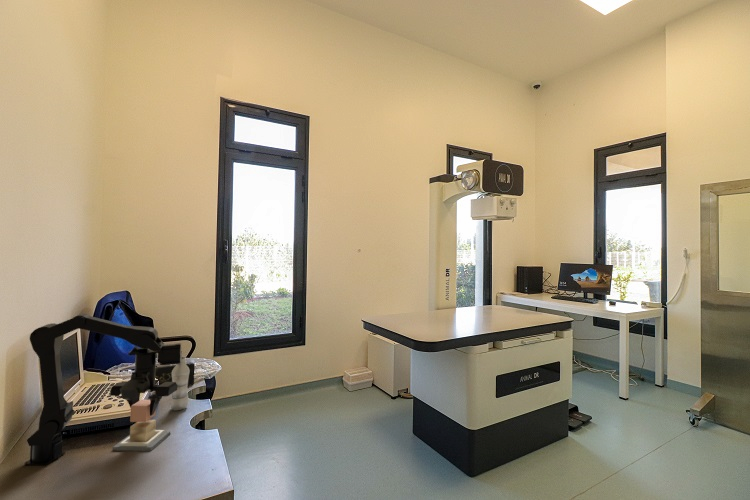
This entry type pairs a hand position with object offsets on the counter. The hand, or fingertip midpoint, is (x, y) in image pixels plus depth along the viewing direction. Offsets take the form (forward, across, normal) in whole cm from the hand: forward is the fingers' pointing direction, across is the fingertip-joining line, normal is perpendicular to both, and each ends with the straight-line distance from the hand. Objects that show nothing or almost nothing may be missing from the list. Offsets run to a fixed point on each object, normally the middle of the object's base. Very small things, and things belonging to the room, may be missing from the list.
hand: (143, 415), depth 112 cm
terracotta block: (+1, 0, 0) cm, 1 cm away
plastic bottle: (+9, -2, +25) cm, 27 cm away
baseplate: (+9, 0, 0) cm, 9 cm away
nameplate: (+9, -20, +48) cm, 52 cm away
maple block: (+8, 0, 0) cm, 8 cm away
